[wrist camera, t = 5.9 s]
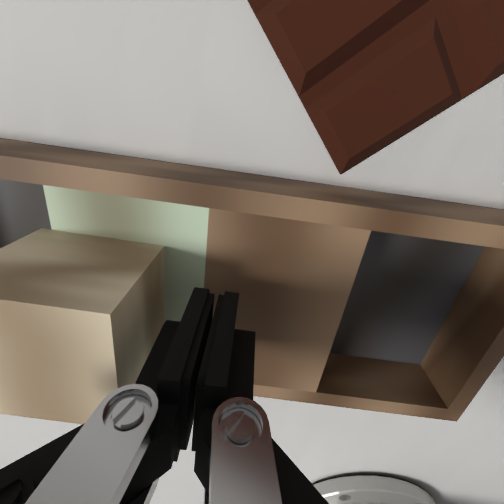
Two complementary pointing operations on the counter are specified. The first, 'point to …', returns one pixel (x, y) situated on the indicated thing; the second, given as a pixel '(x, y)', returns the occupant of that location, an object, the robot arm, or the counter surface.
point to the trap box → (296, 270)
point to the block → (75, 321)
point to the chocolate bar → (381, 63)
